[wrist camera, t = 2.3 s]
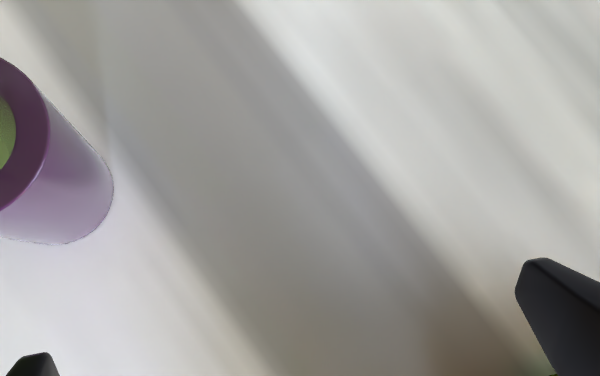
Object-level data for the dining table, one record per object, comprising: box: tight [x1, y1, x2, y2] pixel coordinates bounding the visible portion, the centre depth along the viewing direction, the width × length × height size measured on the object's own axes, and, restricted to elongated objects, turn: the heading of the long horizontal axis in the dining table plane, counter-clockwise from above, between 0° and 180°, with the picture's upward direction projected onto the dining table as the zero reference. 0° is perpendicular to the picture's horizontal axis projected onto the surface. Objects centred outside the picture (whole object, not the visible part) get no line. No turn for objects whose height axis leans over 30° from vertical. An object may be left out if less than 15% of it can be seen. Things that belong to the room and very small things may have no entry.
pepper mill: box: [0, 58, 114, 245], centre depth 16 cm, size 5×5×12 cm
